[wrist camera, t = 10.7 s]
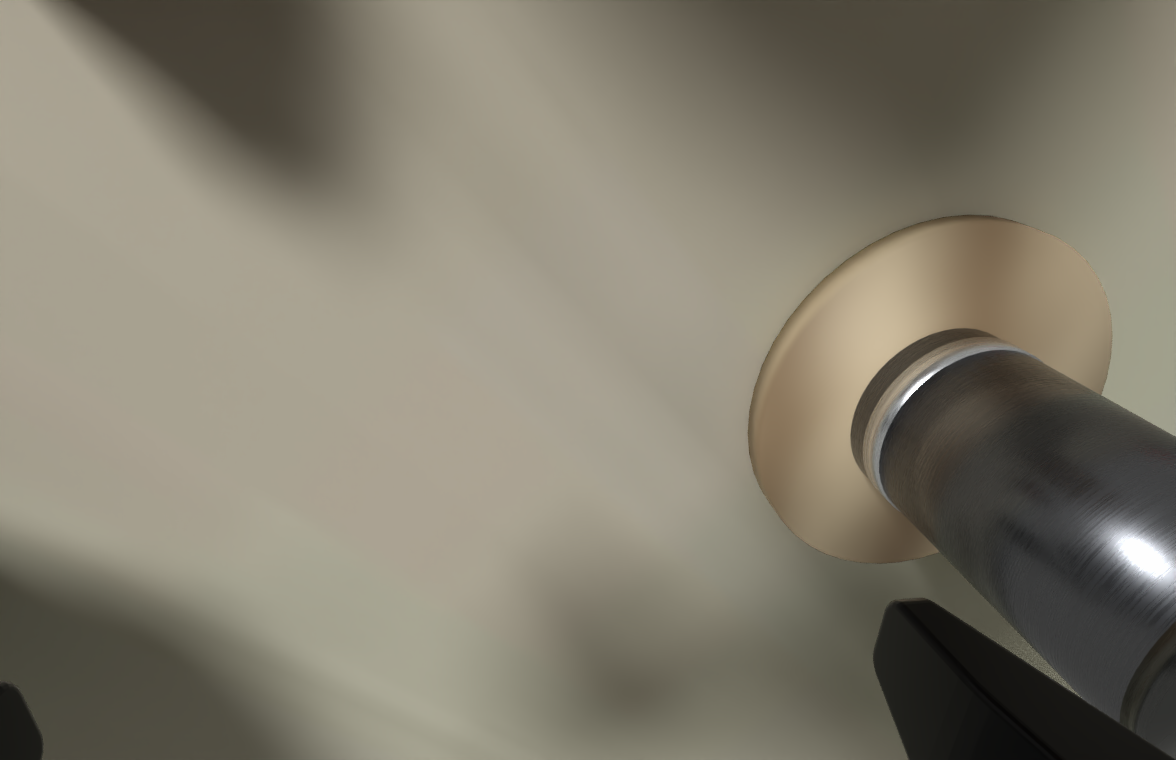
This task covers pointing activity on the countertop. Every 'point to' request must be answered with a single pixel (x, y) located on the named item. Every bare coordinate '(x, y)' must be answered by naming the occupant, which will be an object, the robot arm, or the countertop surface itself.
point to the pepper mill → (1038, 509)
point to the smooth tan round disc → (885, 327)
